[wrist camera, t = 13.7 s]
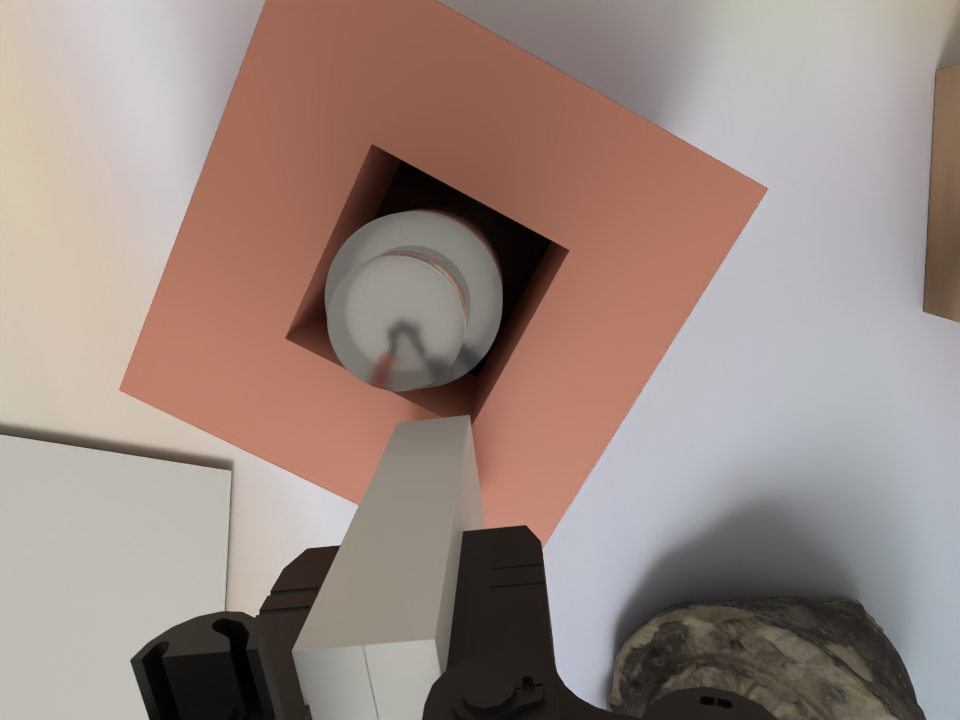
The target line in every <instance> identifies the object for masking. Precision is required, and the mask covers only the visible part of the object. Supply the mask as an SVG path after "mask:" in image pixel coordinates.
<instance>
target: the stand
mask: <svg viewBox="0 0 960 720" xmlns="http://www.w3.org/2000/svg"><path fill="white" fill-rule="evenodd" d="M923 312H926V313H929V314H933V315H936V316H940V317H943V318H947V319H950V320H953V321H957V322H960V64H958V65H954V66H950V67H947V68H943V69H940V70H936V84H935V103H934V122H933V141H932V160H931V179H930V198H929V216H928V235H927V254H926V273H925V292H924V311H923Z"/></svg>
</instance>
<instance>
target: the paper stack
mask: <svg viewBox="0 0 960 720" xmlns="http://www.w3.org/2000/svg"><path fill="white" fill-rule="evenodd" d="M231 475H232V471H230V470H224V469H218V468H211V467H205V466H198V465H192V464H186V463H179V462H173V461H167V460H160V459H154V458H148V457H141V456H135V455H128V454H122V453H116V452H109V451H103V450H97V449H90V448H84V447H78V446H71V445H65V444H59V443H52V442H46V441H39V440H33V439H27V438H20V437H14V436H8V435H1V434H0V720H149V717H148V714H147V711H146V708H145V705H144V702H143V699H142V696H141V693H140V690H139V687H138V684H137V681H136V678H135V675H134V671H133V668H132V665H131V662H130V659H131V658H132V657H133V656H135V655H136V654H137V653H138V652H139V651H140V650H141V649H142V648H143V647H144V646H145V645H146V644H147V643H148V642H149V641H151V640H152V639H154V638H156V637H157V636H159V635H160V634H162V633H163V632H165V631H167V630H168V629H170V628H171V627H173V626H175V625H178V624H180V623H183V622H185V621H188V620H190V619H192V618H195V617H197V616H201V615H206V614H211V613H216V612H221V611H225V595H226V575H227V555H228V535H229V515H230V495H231Z"/></svg>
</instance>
